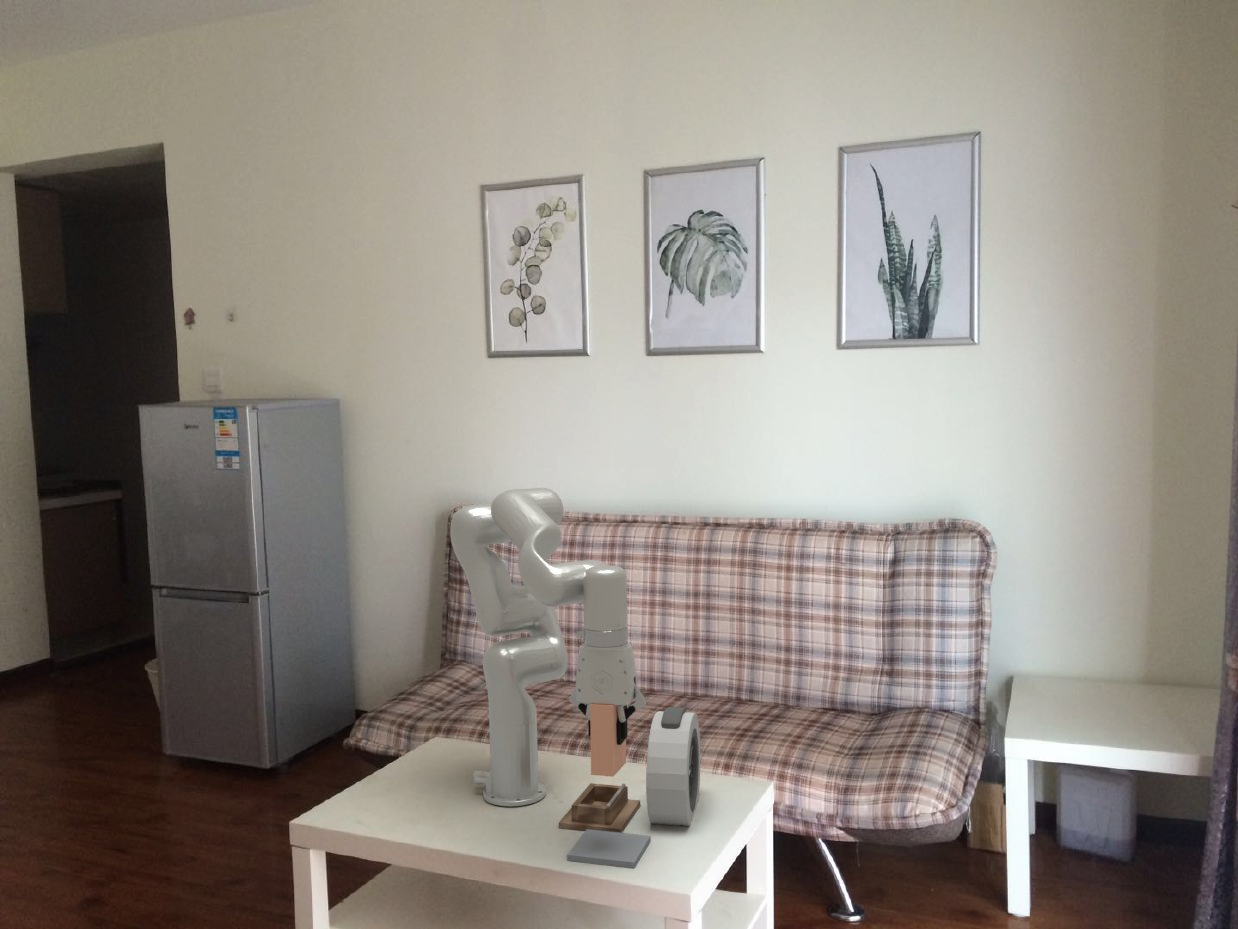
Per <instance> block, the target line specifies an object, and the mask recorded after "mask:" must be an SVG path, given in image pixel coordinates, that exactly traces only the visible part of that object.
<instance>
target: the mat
mask: <svg viewBox="0 0 1238 929" xmlns="http://www.w3.org/2000/svg"><path fill="white" fill-rule="evenodd" d="M651 839H652V838H651V835H645V834H637V833H625V832H622V833H619V832H609V831H599V830H590V829H587V830H586V831H584V832H583V833H582V834H581V836H580V837H579V838H578V840H577V841H576V842H575V844H574V845H573V846H572V847H571V849H570V850H569V851H568V853H567V854H566V861H568V862H575V863H576V862H577V863H585V864H594V865H601V866H602V865H603V866H613V867H619V868H627V869H635V868H636V867H637V865H638V864H639V862H640V860H641V858H642V856H643V854H644V853H645V851H646V850H647V849H648V846H649V845H650V843H651Z"/></svg>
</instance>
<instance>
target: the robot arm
mask: <svg viewBox="0 0 1238 929" xmlns="http://www.w3.org/2000/svg"><path fill="white" fill-rule="evenodd" d="M563 517H564V505H563V502H562V500H561V497H560V495H558V493H557V492H555V491H554V490H553V489H551V488H548V487H535V488H534V487H532V488H519V489H518V488H516V489H509V490H505V491H502V492H501V493H499V494H497V495H496V496H495V498H493V500H492V502H489V503H488V502H487V503H486V502H485V503H475V504H471V505H467V506H464V507H461V508H460V509H459V510H457V511H456V512H455V513H454V515H453V516H452V518H451V520H450V521H451V523H450V533H449V534H450V542H451V545H452V549H453V552H454V554H455V556H456V559H457V560H458V562H459V565H460V566H461V567H462V570H463V572H464V574H465V576H466V579H467V583H468V586H469V591H470V594H471V598H472V602H473V606H474V609H475V612H476V616H477V619H478V623H479V625H480V628H481V630H482V632H483V633H484V634H485V635H487V636H488V637H489V636H490V637H502V636H508V635H515V634H522V633H528V634H529V636H525V637H516V638H512V639H506V640H501V641H498V642H496V643H493V644H492V645H491V646H489V647H488V648H487V649H486V651H485V652H484V654H483V657H482V668H483V675H484V679H485V683H486V689H487V698H488V700H487V701H488V718H489V754H490V755H489V760H490V761H489V762H490V763H489V764H490V770H489V771H484V770H474V771H473V774H472V779H473V784H475V785H484V786H485V787H484V789H483V792H482V793H483V799H484V800H485V801H486V802H487V803H489V804H491V805H495V806H499V807H522V806H527V805H532V804H535V803H537V802H539V801H541V800H542V799H543V798H545V796H546V795H547V788H546V786H545V784H543V783H542V782H540V781H539V765H538V764H539V763H538V761H539V760H538V757H539V756H538V720H537V719H538V715H537V714H538V713H537V706H536V704H535V701H534V700H533V698H532V697H531V696H530V694H529V693H528V692H527V690H526V688H527V686H531V685H535V684H540V683H541V684H542V683H545V682H549V681H554V680H558V679H560V678H561V677H563V676H564V674H565V673H566V671H567V670H568V669H567V668H568V664H569V662H568V660H569V659H568V658H569V657H568V651H567V647H566V646H567V645H566V643H565V640H564V637H563V632H562V630H561V626H560V622H559V620H558V616H557V613H556V609H555V608H557V607H564V606H569V605H575V604H583V622H584V623H583V628H582V629H577V630H576V637H577V638H580V639H582V641H583V643H582V644H581V645H579V649H578V656H577V662H576V664H577V665H576V675H575V676H576V677H575V688H574V689H573V691H572V693H571V695H570V696H569V697H568V701H569V702H570V703H571V704H572V705H573V706H575V707H577V708H578V709H579V711H580V712H581V713H582V714H583V715H584V716H585V719H586V720H587V721H588V724H587V725H588V728H587V729H588V737H591V731H590V705H591V704H605V705H614V706H616V707H617V712H618V717H619V718H618V722H617V724H616V726H617V745H621V744H622V743H623V742H624V741H625V739H626V740H627V738H628V729H629V728H628V719H629V718H630V717H631V716H632V715H633V714H634V713H635V712H637V711H639V710H640V709H642V708H643V707H645V706H646V704H647V703H648V702H647V700H646V699H647V698H645V696H644V694H643V693H642V692H641V690H640V688H639V687H638V683H637V682H638V680H637V679H638V678H637V671H636V670H637V668H636V663H635V662H636V661H635V658H634V657H635V656H634V651H633V647H632V645H631V643H629V642H628V641H629V638H628V636H629V635H628V594H627V593H628V591H627V590H628V588H627V584H628V583H627V573H626V571H625V569H624V568H623V567H620V566H617V565H608V564H606V563H604V562H602V561H600V560H597V559H586V560H577V561H576V560H575V561H568V562H560V563H559V562H558V563H551V564H550V563H549V562H547V561H546V560H547V559H549V557H551V556H552V555H553V554H554V553H555V552H556V551H557V549H558V548H559V546H560V544H561V540H562V531H561V528H560V527H559V525H560V524H561V522H562V521H563ZM505 543H506V544H507V543H512V544H514V546H515V547H516V548H517V549H518V550H519V554H518V561H517V563H518V571H519V575H520V580H521V583H522V584H523V585H521V586H515V585H514V583H512V581H511V578H510V574H509V569H508V567H507V565H506V563H505V562H504V561H503V560H502V558H501V557H500V556H499V555H498V554H497V553H496V552H495V551H493V550H492V549H491V548H489V546H488V545H495V544H505ZM633 700H635V702H634V703H632V702H633ZM631 703H632V704H631ZM629 705H630V706H629Z"/></svg>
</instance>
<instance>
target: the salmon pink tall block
mask: <svg viewBox="0 0 1238 929" xmlns="http://www.w3.org/2000/svg"><path fill="white" fill-rule="evenodd" d="M618 718H619V717H618V712H617V707H616V706H614V705H605V704H591V705H590V731H591V736H590V775H591V776H602V777H611V778H613V777H614V776H615V775H616V774H617V773H618V772H620V770H621V769H622V767H624V765H626V763H627V738H626V739H625V741H624V742H623V743H622V744H621V745H617V726H616V724H617V722H618Z"/></svg>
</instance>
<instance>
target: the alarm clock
mask: <svg viewBox="0 0 1238 929" xmlns="http://www.w3.org/2000/svg"><path fill="white" fill-rule="evenodd" d="M699 724H700V723H699V718H698V715H697V713H695V712H687V708H685V707H679V706H668V707H666V708H665V709H664V710H663V711H662V710H661V711H660V710H657V712H655V713H654V715H653V718H652V721H651V725H650V730H649V736H648V745H647V752H646V754H647V755H646V770H645V772H646V774H645V775H646V776H645V778H646V779H645V780H646V782H645V785H646V786H645V790H646V792H645V793H646V794H645V795H646V807H647V815H648V819H649V822H650V824H651V825H652V824H653V825H665V824H667V825H668V826H680V825H683V826H684V827H690V826H691V825H690V824H692V822H691V821H693V819H692V818H694V815H695V812H696V809H697V806H698V803H699V798H700V797H699V796H700V786H701V736H700V735H701V732H700V725H699ZM696 805H697V806H696ZM694 811H695V812H694Z"/></svg>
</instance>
